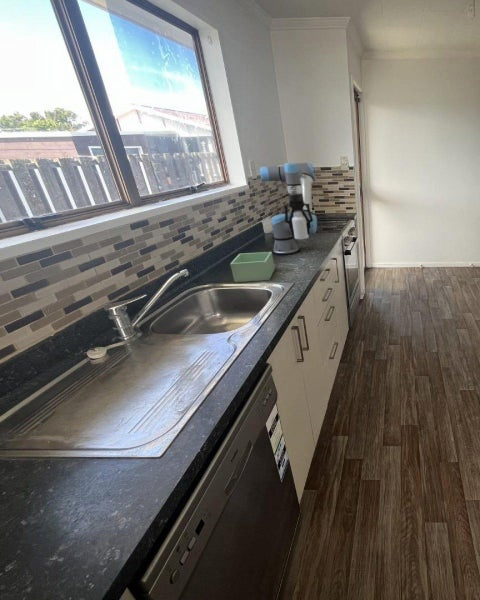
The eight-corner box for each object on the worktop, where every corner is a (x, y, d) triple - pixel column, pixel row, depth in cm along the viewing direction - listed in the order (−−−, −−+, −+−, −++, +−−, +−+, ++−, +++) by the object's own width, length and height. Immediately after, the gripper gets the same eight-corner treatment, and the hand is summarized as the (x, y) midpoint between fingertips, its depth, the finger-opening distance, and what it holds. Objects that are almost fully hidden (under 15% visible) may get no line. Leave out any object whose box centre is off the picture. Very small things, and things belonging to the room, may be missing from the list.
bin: (243, 271, 178) (239, 253, 174) (274, 268, 181) (271, 251, 177) (234, 282, 164) (230, 263, 159) (269, 279, 166) (265, 261, 162)
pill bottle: (291, 239, 189) (287, 212, 182) (300, 235, 196) (296, 210, 189) (303, 240, 186) (299, 213, 180) (311, 236, 193) (308, 211, 186)
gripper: (274, 195, 175) (281, 236, 185) (314, 193, 178) (319, 234, 188) (276, 193, 182) (283, 233, 192) (315, 191, 185) (319, 231, 195)
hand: (301, 234), depth 190 cm, fingers closed on pill bottle, 8 cm apart
